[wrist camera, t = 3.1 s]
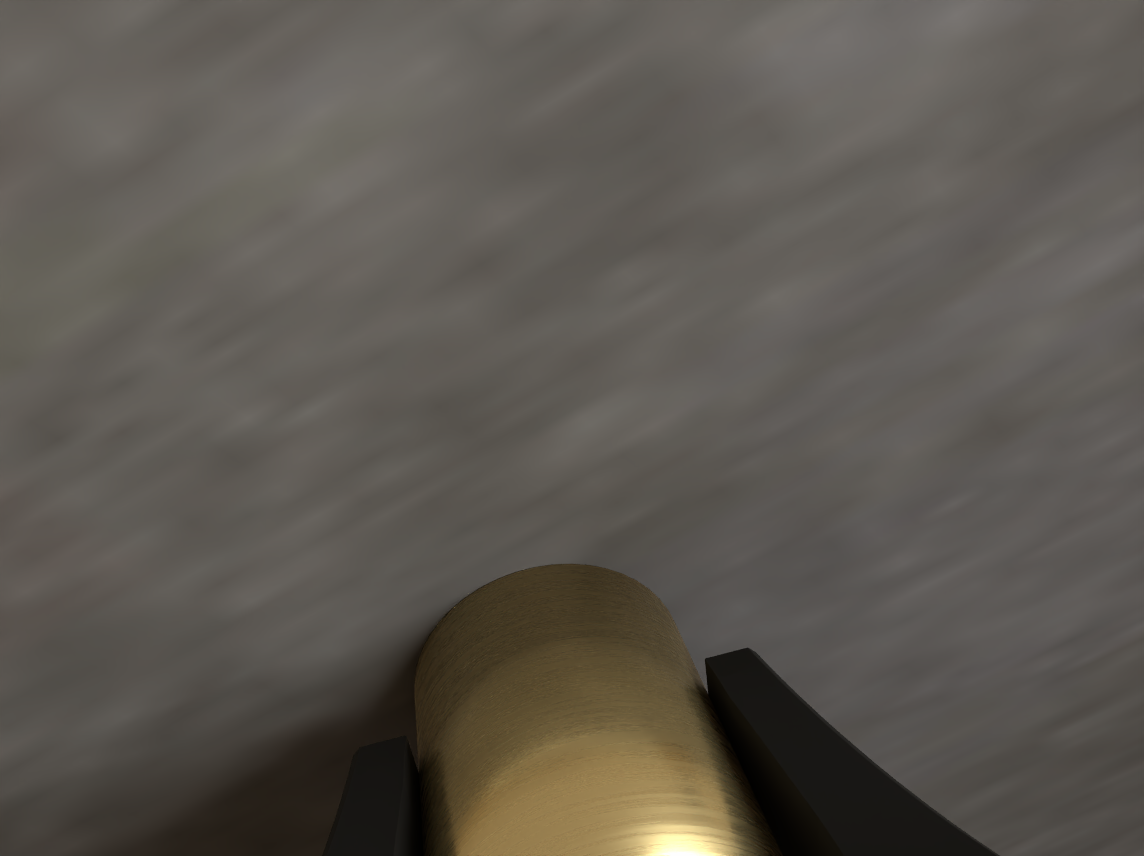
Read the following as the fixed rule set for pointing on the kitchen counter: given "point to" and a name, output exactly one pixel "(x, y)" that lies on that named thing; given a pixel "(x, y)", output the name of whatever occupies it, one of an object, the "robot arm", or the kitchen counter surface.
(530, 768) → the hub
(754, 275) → the kitchen counter surface
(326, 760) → the kitchen counter surface
